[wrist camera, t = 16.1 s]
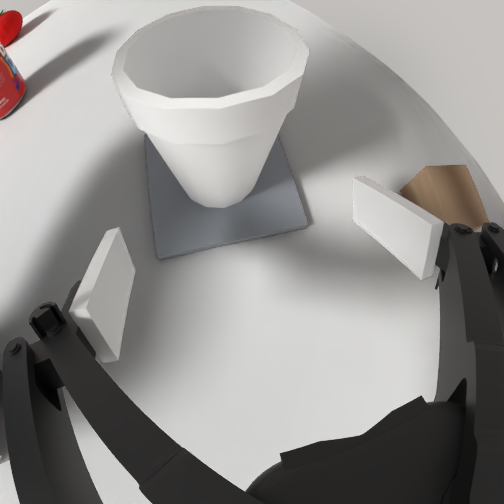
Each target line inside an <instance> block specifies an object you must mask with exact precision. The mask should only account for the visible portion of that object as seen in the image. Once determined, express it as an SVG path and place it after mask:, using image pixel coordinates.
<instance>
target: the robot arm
mask: <svg viewBox="0 0 504 504" xmlns="http://www.w3.org/2000/svg"><path fill="white" fill-rule="evenodd" d="M353 221H354V222H355V223H356V224H357V225H359V226H360V227H361V228H362V229H364V230H365V231H366V232H367V233H368V234H370V235H371V236H372V237H373V238H374V239H375V240H377V241H378V242H379V243H380V244H381V245H382V246H384V247H385V248H386V249H387V250H388V251H389V252H390V253H392V254H393V255H394V256H395V257H396V258H397V259H398V260H399V261H401V262H402V263H403V264H404V265H405V266H406V267H407V268H408V269H409V270H410V271H412V272H413V273H414V274H415V275H416V276H417V277H418V278H419V279H420V280H424V279H426V278H429V277H431V276H433V272H434V268H435V264H436V265H437V266H438V267H439V268H440V272H439V276H438V279H437V283H436V287H435V289H437V288H438V286H439V293H440V353H439V369H438V381H437V391H436V396H435V399H434V402H428V403H426V402H425V400H424V399H423V397H422V396H420V397H418V398H416V399H414V400H412V401H411V402H409V403H407V404H405V405H403V406H401V407H399V408H397V409H395V410H393V411H392V412H390V413H389V414H388V415H387V416H386V417H384V418H383V419H382V420H381V421H380V422H378V423H377V424H376V425H375V426H373V427H372V428H371V429H369V430H368V431H367V432H366V433H364V434H362V435H360V436H354V437H348V438H342V439H335V440H327V441H319V442H316V443H313V444H310V445H307V446H304V447H301V448H297V449H294V450H290V451H287V452H283V453H280V456H281V462H279V463H277V464H275V465H273V466H272V467H270V468H269V469H267V470H266V471H264V472H263V473H262V474H261V475H260V476H258V477H257V478H256V479H255V480H254V481H253V482H252V484H251V485H250V486H249V487H248V489H247V490H246V492H245V491H243V490H241V489H240V488H238V487H237V486H235V485H234V484H232V483H231V482H229V481H228V480H226V479H225V478H223V477H222V476H221V475H219V474H218V473H216V472H215V471H214V470H212V469H211V468H209V467H208V466H207V465H205V464H204V463H203V462H202V461H200V460H199V459H198V458H196V457H195V456H194V455H192V454H191V453H190V452H189V451H187V450H186V449H185V448H183V447H181V446H180V445H179V444H177V443H176V442H175V441H174V440H173V439H172V438H170V437H169V436H168V435H167V434H166V433H165V432H164V431H163V430H161V429H160V428H159V427H158V426H157V425H156V424H155V423H154V422H153V421H152V420H151V419H150V418H149V417H148V416H147V415H145V414H144V413H143V412H142V411H141V410H140V409H139V408H138V407H137V406H136V405H135V404H134V403H133V401H132V400H131V399H130V398H129V397H128V396H127V395H126V394H125V393H124V392H123V391H122V390H121V389H120V388H119V387H118V385H117V384H116V383H115V382H114V381H113V380H112V379H111V378H110V376H109V375H108V374H107V373H106V372H105V371H104V369H103V368H102V367H101V366H100V365H99V363H98V362H97V361H96V360H95V355H96V354H97V356H98V357H99V359H100V360H101V361H102V363H107V362H114V361H119V356H120V349H121V343H122V337H123V331H124V325H125V319H126V314H127V309H128V304H129V299H130V294H131V289H132V284H133V280H134V275H135V271H136V270H135V267H134V265H133V262H132V260H131V257H130V254H129V252H128V249H127V246H126V244H125V241H124V238H123V235H122V233H121V230H120V227H117V228H114V229H110V230H107V231H106V233H105V235H104V237H103V239H102V241H101V243H100V244H99V246H98V248H97V250H96V252H95V254H94V256H93V258H92V260H91V263H90V265H89V267H88V269H87V271H86V273H85V275H84V277H83V280H81V281H78V282H77V283H76V284H75V285H74V287H73V288H72V289H71V291H70V293H69V295H68V298H67V300H66V303H65V304H64V307H63V309H62V311H61V312H60V310H59V308H58V306H57V305H56V304H55V303H54V302H47V303H44V304H42V305H41V306H39V307H38V308H37V309H35V310H34V312H33V313H32V314H31V316H30V318H29V324H30V325H31V327H32V328H33V330H34V331H35V333H36V334H37V335H38V337H39V338H40V341H38V342H35V343H33V344H31V345H29V344H28V343H27V341H26V340H25V339H24V338H23V337H19V338H16V339H14V340H13V341H11V342H10V343H9V344H8V345H7V347H6V349H5V350H4V354H3V376H2V374H1V372H0V464H1V463H3V462H6V461H8V460H10V464H11V469H12V474H13V479H14V483H15V487H16V491H17V495H18V498H19V502H20V504H103V503H102V501H101V499H100V496H99V494H98V492H97V490H96V488H95V486H94V484H93V481H92V479H91V477H90V474H89V472H88V470H87V467H86V465H85V462H84V459H83V457H82V454H81V452H80V449H79V446H78V443H77V440H76V437H75V434H74V431H73V428H72V425H71V421H70V418H69V415H68V411H67V407H66V404H65V400H64V396H63V392H62V387H63V386H66V388H67V390H68V391H69V393H70V395H71V396H72V398H73V400H74V401H75V403H76V404H77V406H78V407H79V409H80V410H81V412H82V413H83V415H84V416H85V418H86V419H87V421H88V422H89V423H90V425H91V426H92V428H93V429H94V430H95V432H96V433H97V434H98V436H99V437H100V438H101V440H102V441H103V442H104V444H105V445H106V446H107V447H108V449H109V450H110V451H111V452H112V454H113V455H114V456H115V457H116V458H117V460H118V461H119V462H120V463H121V464H122V465H123V467H124V468H125V469H126V470H127V471H128V472H129V473H130V474H131V475H132V477H133V478H134V479H135V480H136V481H137V482H138V484H139V489H140V490H141V492H142V493H143V494H144V496H145V497H146V498H147V499H148V500H149V501H150V502H151V503H152V504H504V229H503V228H501V227H500V226H498V225H497V224H495V223H492V222H491V223H489V222H487V223H483V226H482V230H481V232H478V233H474V231H473V229H471V228H470V227H469V226H466V225H464V224H460V223H453V224H451V225H448V224H447V223H445V222H444V221H442V220H441V219H439V218H438V217H436V216H434V215H433V214H431V213H429V212H428V211H426V210H425V209H423V208H421V207H419V206H417V205H416V204H414V203H412V202H410V201H409V200H407V199H405V198H404V197H402V196H400V195H398V194H396V193H395V192H393V191H391V190H389V189H387V188H386V187H384V186H382V185H380V184H378V183H376V182H374V181H372V180H371V179H369V178H367V177H365V176H360V177H354V178H353ZM497 262H498V267H497V271H495V266H496V263H497Z"/></svg>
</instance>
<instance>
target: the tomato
mask: <svg viewBox="0 0 504 504" xmlns="http://www.w3.org/2000/svg"><path fill="white" fill-rule="evenodd" d="M2 12H3V10H2ZM2 12H1V13H0V42H1V44H2V45H3V47H4V46H6V45H7V44H9V43H10V42H11V41H13V40H14V39H15V37H16V36H17V35H18V33H19V32H20V30H21V27H22V23H23V19H22V16H21V14H20V13H19V12H17V11H13V10H11V11H7V12H5V13H2Z"/></svg>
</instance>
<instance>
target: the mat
mask: <svg viewBox="0 0 504 504" xmlns="http://www.w3.org/2000/svg"><path fill="white" fill-rule="evenodd" d="M144 136H145V153H146V167H147V179H148V190H149V200H150V209H151V218H152V226H153V233H154V241H155V248H156V254H157V258H158V259H159V260H161V259H166V258H170V257H175V256H179V255H184V254H188V253H193V252H197V251H202V250H206V249H211V248H215V247H220V246H225V245H229V244H234V243H238V242H243V241H248V240H252V239H257V238H262V237H266V236H271V235H276V234H281V233H285V232H290V231H295V230H300V229H304V228H306V227H307V226H308V222H307V219H306V216H305V213H304V209H303V206H302V203H301V200H300V197H299V194H298V191H297V188H296V185H295V182H294V179H293V176H292V173H291V170H290V167H289V164H288V161H287V159H286V156H285V153H284V150H283V147H282V145H281V142H280V139H279V136H278V135H277V137H276V139H275V141H274V144H273V146H272V148H271V150H270V152H269V155H268V157H267V159H266V161H265V163H264V166H263V168H262V170H261V172H260V175H259V177H258V179H257V181H256V184H255V186H254V188H253V190H252V191H251V192H250V193H249V194H248V195H247V196H246V197H245V198H244V199H243V200H242V201H241V202H239V203H236V204H233V205H231V206H228V207H225V208H213V207H205V206H203V205H201V204H199V203H197V202H195V201H193V200H191V198H190V197H189V196H188V194H187V193H186V192H185V190H184V189H183V187H182V186H181V185H180V183H179V182H178V180H177V179H176V177H175V176H174V174H173V173H172V171H171V170H170V168H169V167H168V165H167V164H166V162H165V161H164V159H163V158H162V156H161V155H160V153H159V152H158V150H157V149H156V147H155V146H154V144H153V143H152V141H151V140H150V138H149V137H148V135H147V134H146V135H144Z"/></svg>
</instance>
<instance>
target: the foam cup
mask: <svg viewBox="0 0 504 504" xmlns="http://www.w3.org/2000/svg"><path fill="white" fill-rule="evenodd" d="M309 52H310V50H309V49H308V47H307V45H306V44H305V42H304V40H303V39H302V37H301V35H300V34H299V32H298V30H297V29H295V28H293V27H292V26H290V25H289V24H287V23H285V22H284V21H282V20H280V19H279V18H277V17H275V16H273V15H272V14H268V13H264V12H260V11H256V10H252V9H248V8H244V7H239V6H203V7H198V8H193V9H189V10H184V11H180V12H176V13H172V14H169V15H166V16H164V17H162V18H160V19H158V20H156V21H154V22H152V23H150V24H148V25H146V26H144V27H143V28H141V29H139V30H137V31H136V32H135V33H134V34H133V35H132V36H131V37H130V38H129V39H128V40H127V41H126V42H125V43H124V44H123V46H122V47H121V48H120V49H119V50H118V51H117V53H116V56H115V60H114V65H113V69H112V73H111V76H112V79H113V81H114V84H115V86H116V89H117V91H118V93H119V96H120V98H121V100H122V103H123V105H124V107H125V109H126V110H127V112H128V113H129V115H130V116H131V118H132V119H133V121H134V122H135V124H136V125H137V127H138V128H139V129H140V130H142V131H145V132H146V134H147V135H148V137H149V138H150V140H151V141H152V143H153V144H154V146H155V147H156V149H157V150H158V152H159V153H160V155H161V156H162V158H163V159H164V161H165V162H166V164H167V165H168V167H169V168H170V170H171V171H172V173H173V174H174V176H175V177H176V179H177V180H178V182H179V183H180V185H181V186H182V187H183V189H184V190H185V192H186V193H187V194H188V196H189V197H190V198H191V200H193V201H195V202H197V203H199V204H201V205H203V206H205V207H213V208H225V207H228V206H231V205H233V204H236V203H239V202H241V201H242V200H243V199H244V198H245V197H246V196H247V195H248V194H249V193H250V192H251V191H252V190H253V188H254V186H255V184H256V181H257V179H258V177H259V175H260V172H261V170H262V168H263V166H264V163H265V161H266V159H267V157H268V155H269V152H270V150H271V148H272V146H273V144H274V141H275V139H276V137H277V135H278V133H279V130H280V128H281V126H282V124H283V122H284V120H285V117H286V115H287V114H288V113H289V112H290V111H292V110H293V109H294V107H295V103H296V100H297V96H298V92H299V89H300V85H301V82H302V78H303V74H304V70H305V67H306V63H307V59H308V55H309Z"/></svg>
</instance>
